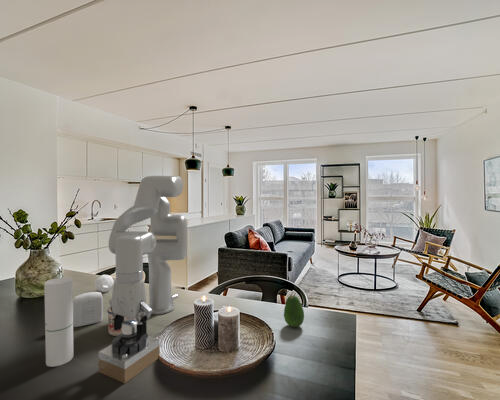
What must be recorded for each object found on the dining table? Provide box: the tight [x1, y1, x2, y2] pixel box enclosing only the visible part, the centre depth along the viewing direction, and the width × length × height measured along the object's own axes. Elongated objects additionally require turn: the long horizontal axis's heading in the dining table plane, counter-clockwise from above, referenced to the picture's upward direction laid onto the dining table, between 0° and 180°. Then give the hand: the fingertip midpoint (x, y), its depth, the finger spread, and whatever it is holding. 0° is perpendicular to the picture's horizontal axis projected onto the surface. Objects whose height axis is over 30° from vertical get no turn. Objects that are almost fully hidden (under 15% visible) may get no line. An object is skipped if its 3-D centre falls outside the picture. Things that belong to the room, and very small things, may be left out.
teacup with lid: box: [106, 306, 136, 337], centre depth 103 cm, size 12×9×12 cm
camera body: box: [98, 333, 161, 384], centre depth 83 cm, size 13×11×8 cm
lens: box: [122, 319, 138, 344], centre depth 83 cm, size 5×5×7 cm
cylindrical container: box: [43, 276, 75, 368], centre depth 85 cm, size 7×7×25 cm
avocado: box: [283, 295, 305, 328], centre depth 106 cm, size 8×8×12 cm
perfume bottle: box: [93, 274, 115, 293], centre depth 143 cm, size 9×9×12 cm
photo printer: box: [73, 291, 104, 328], centre depth 109 cm, size 10×4×12 cm, turn 123°
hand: (130, 331), depth 83 cm, fingers open, 9 cm apart
